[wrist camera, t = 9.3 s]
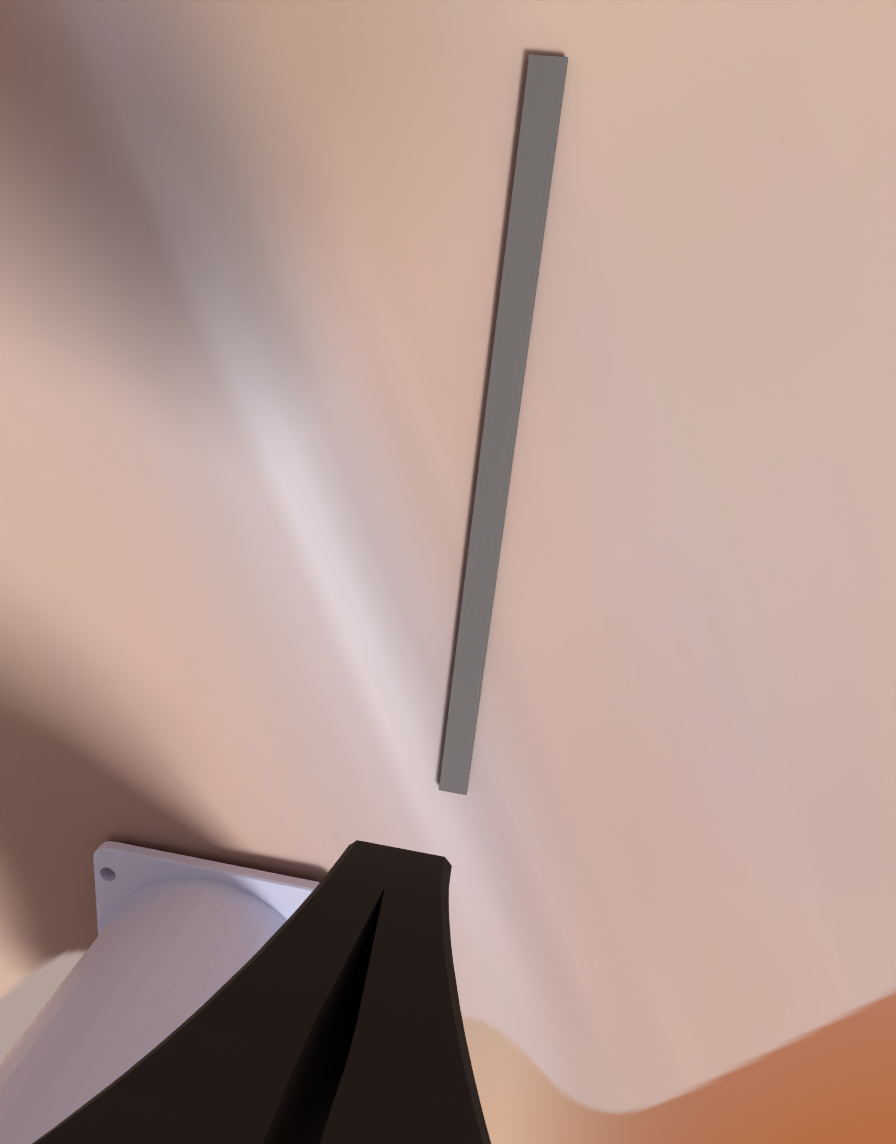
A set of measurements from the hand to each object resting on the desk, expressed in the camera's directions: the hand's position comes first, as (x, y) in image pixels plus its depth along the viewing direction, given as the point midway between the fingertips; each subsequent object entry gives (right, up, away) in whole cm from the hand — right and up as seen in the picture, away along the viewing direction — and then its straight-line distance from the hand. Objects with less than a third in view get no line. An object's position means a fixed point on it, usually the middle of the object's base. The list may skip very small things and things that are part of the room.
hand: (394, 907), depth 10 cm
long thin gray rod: (+2, +7, +8) cm, 11 cm away
